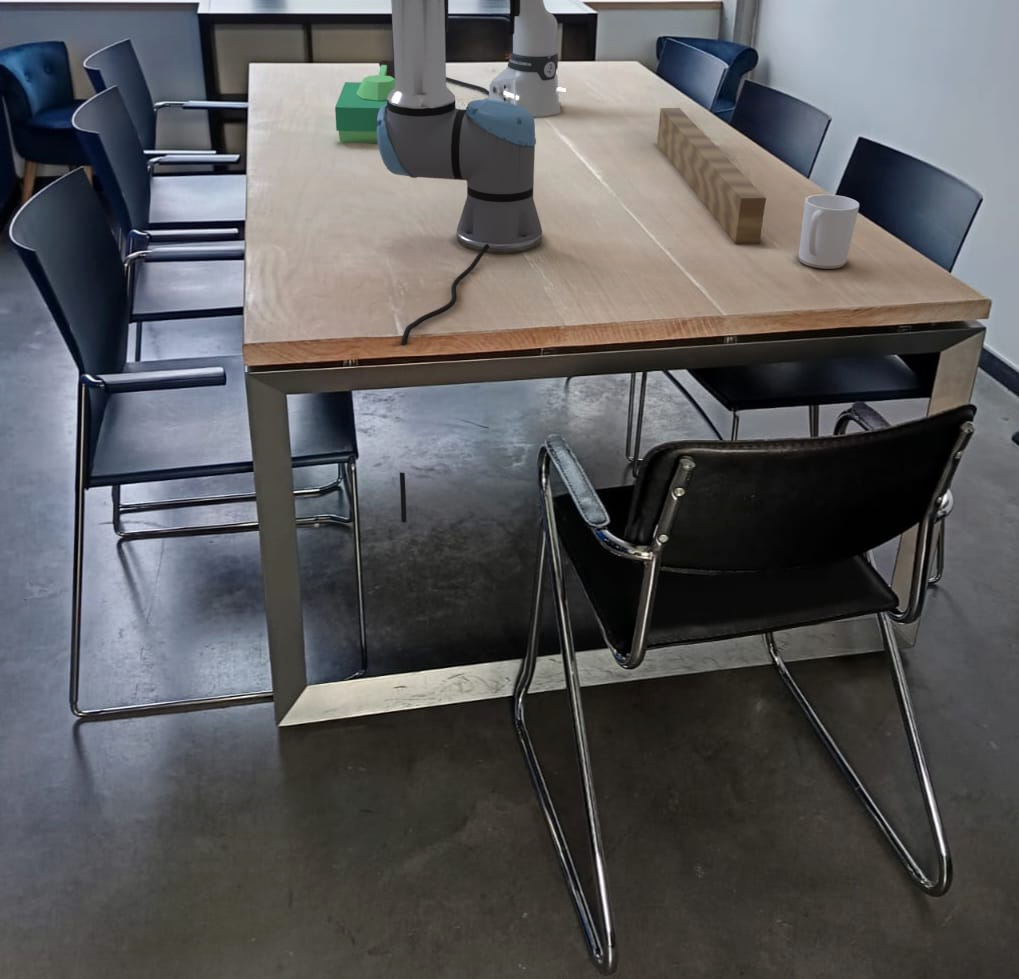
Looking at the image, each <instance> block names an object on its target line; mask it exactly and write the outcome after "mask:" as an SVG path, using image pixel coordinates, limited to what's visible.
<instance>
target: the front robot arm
mask: <svg viewBox="0 0 1019 979" xmlns="http://www.w3.org/2000/svg"><path fill="white" fill-rule="evenodd" d="M390 4H391V5H390V6H391V23H392V24H391V25H392V26H391V27H392V44H393V45H392V46H393V47H392V48H393V61H394V68H395V88H394V89H393V90H392V91H391V92H390V94H389V95H388V96H387V104H385V105H383V106H382V107H381V108H380V110H379V112H378V117H377V123H378V127H377V139H378V143H377V145H378V146H377V147H378V149H379V154H380V157H381V158H380V159H381V160H382V162H383V164H384V166H385V167H386V169H387V170H388V171H389V172H390V173H392V174H393V175H397V176H403V177H410V178H413V179H417V178H425V179H439V180H459V181H466V192H467V193H466V198H465V202H464V205H463V209H462V211H461V214H460V218H459V220H458V224H457V227H456V241H457V243H458V244H459V245H461V246H462V247H464V248H466V249H468V250H470V251H475V252H478V253H477V255H476V256H475V258H474V259H473V261H472V262H471V264H469V266H468V267H467V268H466V269H465V270H464V271H463V272H461V273H460V274H459V275H458V276H457V277H456V278H455V279H454V281H453V282H452V284H451V289H450V291H451V299H450V301H449V302H447V303H446V304H445V305H443V306H441V307H439V308H438V309H434V310H433V311H430V312H428V313H425V314H424V315H422V316H420V317H418V318H417V319H415V320H414V321H413V322H411V323H409V324H408V325H407V326H406V327H405V329H404V330H403V331H404V332H403V335H402V337H401V342H400V345H401V346H406V345H407V343H408V339H409V336H410V334H411V331H412V330H413V329H414V328H417V327H418V326H419V325H421V324H423V323H424V322H425V321H427V320H429V319H432V318H434V317H436V316H439V315H441V314H443V313H445V312H447V311H448V310H450V309H451V308H452V307H453V306H454V305H455V303H456V302H457V299H458V298H457V295H458V294H457V287H458V285H459V283H460V282H461V281H462V280H464V278H465V277H467V276H468V275H469V274H470V273H471V272H472V271H473V270H474V268H476V266H477V265H478V263H479V262H480V260H481V259H482V257H483V256H484V255H485V253H486V254H497V255H499V254H500V255H506V254H507V255H508V254H517V253H524V252H527V251H530V250H533V249H536V248H538V247H539V246H540V245H541V244H542V243H543V229H542V224H541V221H540V220H541V219H540V218H539V214H538V213H539V212H538V210H537V206H536V204H535V199H534V183H535V181H534V180H535V151H536V150H535V149H536V144H537V139H536V123H535V117H533V116H532V115H531V113H530V112H529V111H527V110H526V109H524V108H522V107H520V106H517V105H514V104H511V103H507V102H502V101H495V100H483V99H475V100H471V101H469V102H468V103H467V106H466V107H465V109H461V108H457V107H456V95H455V94H454V93H453V92H452V91H451V90H450V89H449V88H448V86H447V81H446V77H447V64H446V63H447V61H446V60H447V59H446V58H447V57H446V55H447V54H446V33H448V31H449V21H450V20H449V17H450V16H449V0H391V2H390ZM520 5H521V0H510V8H509V35H510V36H513V34H514V31H515V16H519V15H520ZM399 490H400V518H401V519H400V521H401V523H403V524H404V523H407V496H406V495H407V494H406V493H407V492H406V473H405V472H401V471H399Z"/></svg>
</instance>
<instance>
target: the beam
mask: <svg viewBox="0 0 1019 979" xmlns="http://www.w3.org/2000/svg"><path fill="white" fill-rule="evenodd" d="M658 120H659V121H658V130H657V131H658V133H657V143H656V144H657V146H658V147H659V148H660V150H661V152H663V154H664V155H665V156H666V158H667V159H668V160H669V161H670V162H671V164H672V165H673V166H674V167H675V169H676V170H677V172H678V173H679V174H680V176H681V177H682V178H683V179H684V180H685V181H686V183H687V184H688V186H689V187H690V188H691V190H692V191H693V192H694V193H695V194H696V196H697V197H698V198H699V199H700V201H701V202H702V203H703V205H704V206H705V207H706V208H707V209H708V211H709V212H710V214H711V215H712V216H713V217H714V218H715V220H716V221H717V223H719V225H720V226H721V227H722V229H723V230H724V231H725V233H726V234H727V235H728V236H729V238H730V239H731V240H732V241H733V243H734V244H760V243H761V236H762V229H763V222H764V216H765V208H766V201H767V197H766V196H765V195H764V194H763V193H762V192H761V191H760V190H759V189H758V188H757V187H756V186H755V185H754V183H752V182H751V181H750V179H749V178H748V177H746V176H745V175H744V174H743V172H742V171H741V170H740V169H739V168H738V167H737V166H736V165H735V164H734V163H733V162H732V161H731V160H730V159H729V158H728V157H727V156H726V155H725V154H724V152H722V150H721V149H720V148H719V147H718V146H717V145H716V144H715V143H714V142H713V141H712V140H711V139H710V138H709V137H708V136H707V135H706V134H705V133H704V132H703V131H702V129H700V128H699V126H698V125H697V124H695V122H694V121H693V120H692V119H691V118H690V117H689V116H688V115H687V114H686V113H685V112H684V111H683V109H682V108H680V107H660V109H659V119H658Z"/></svg>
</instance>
